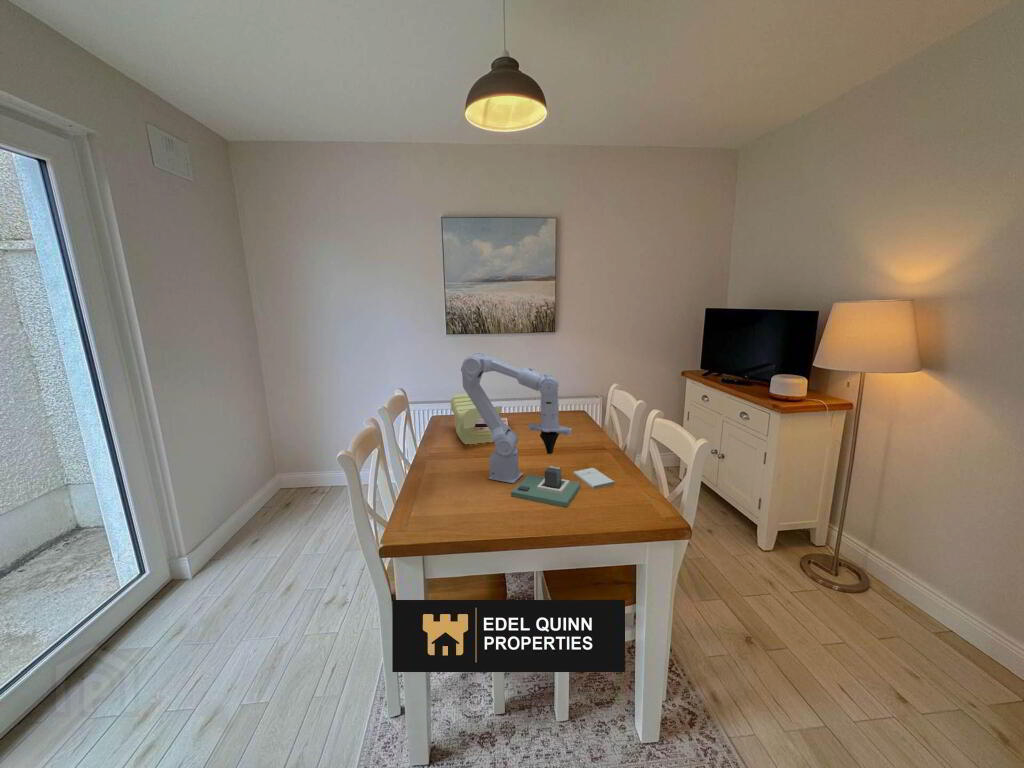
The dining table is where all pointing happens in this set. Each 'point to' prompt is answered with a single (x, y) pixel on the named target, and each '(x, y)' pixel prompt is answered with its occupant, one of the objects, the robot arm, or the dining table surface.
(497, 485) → the dining table surface
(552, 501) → the board
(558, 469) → the dark grey block
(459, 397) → the ridged pale green box
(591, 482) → the external hard drive
